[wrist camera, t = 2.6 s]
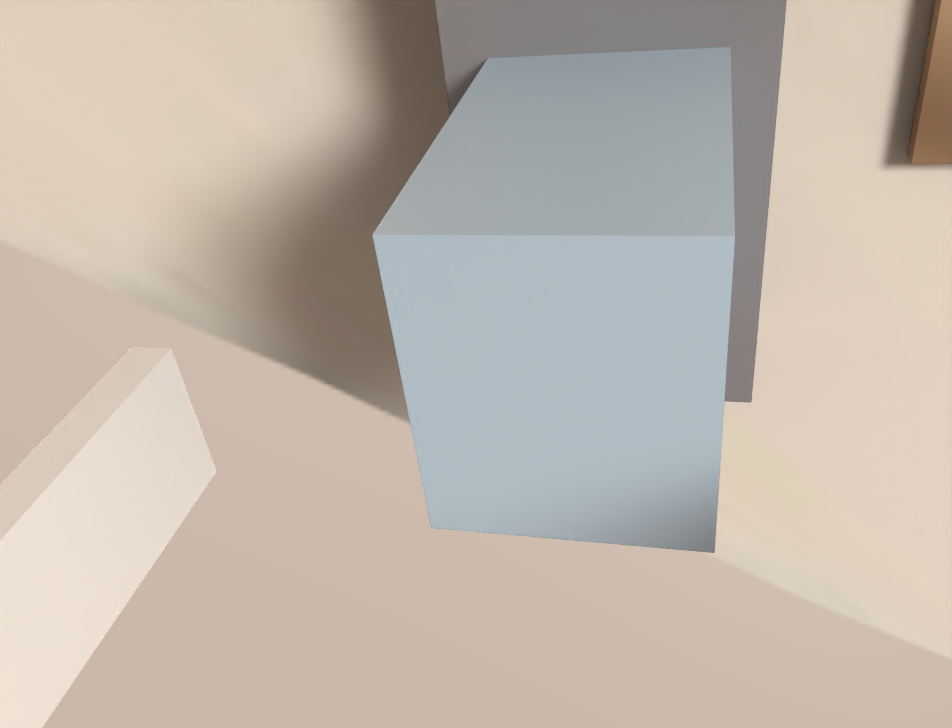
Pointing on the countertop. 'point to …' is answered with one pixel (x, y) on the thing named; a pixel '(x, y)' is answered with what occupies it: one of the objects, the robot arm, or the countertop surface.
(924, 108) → the coaster
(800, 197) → the countertop surface
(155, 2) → the countertop surface
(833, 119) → the countertop surface
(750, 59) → the power strip
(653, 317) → the block
